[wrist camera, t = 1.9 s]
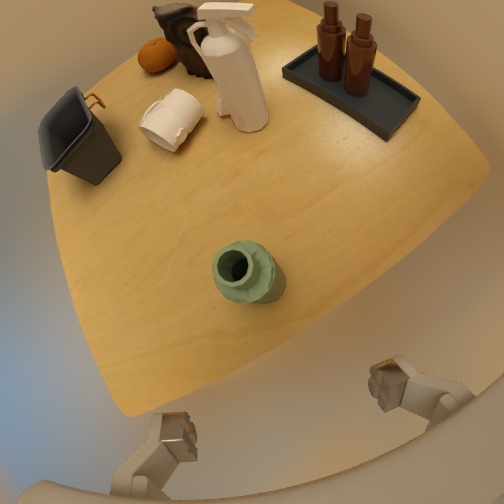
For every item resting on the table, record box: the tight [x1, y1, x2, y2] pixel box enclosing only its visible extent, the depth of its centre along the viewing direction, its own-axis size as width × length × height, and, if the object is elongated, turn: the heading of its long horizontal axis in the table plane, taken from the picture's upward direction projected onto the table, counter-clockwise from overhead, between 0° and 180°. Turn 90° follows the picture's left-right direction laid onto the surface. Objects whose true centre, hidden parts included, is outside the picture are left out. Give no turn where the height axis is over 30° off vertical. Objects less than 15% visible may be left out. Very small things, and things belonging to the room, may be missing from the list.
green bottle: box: [213, 241, 286, 303], centre depth 31 cm, size 6×6×18 cm
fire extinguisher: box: [187, 3, 269, 133], centre depth 34 cm, size 7×12×25 cm, turn 66°
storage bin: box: [38, 86, 121, 185], centre depth 45 cm, size 21×16×14 cm
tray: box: [282, 44, 421, 142], centre depth 42 cm, size 24×13×3 cm, turn 45°
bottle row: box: [317, 1, 377, 97], centre depth 34 cm, size 11×5×18 cm, turn 45°
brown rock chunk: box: [152, 3, 213, 79], centre depth 41 cm, size 13×13×20 cm
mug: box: [139, 89, 204, 152], centre depth 45 cm, size 12×9×8 cm
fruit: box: [138, 38, 177, 72], centre depth 51 cm, size 10×11×8 cm
